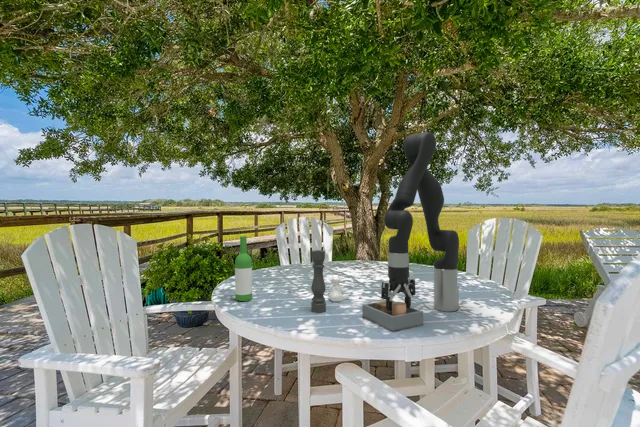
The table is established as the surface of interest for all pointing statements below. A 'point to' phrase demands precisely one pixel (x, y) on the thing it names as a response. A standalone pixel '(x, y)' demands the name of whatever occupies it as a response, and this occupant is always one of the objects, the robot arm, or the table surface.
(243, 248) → the wine bottle
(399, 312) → the tan cylinder
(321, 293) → the candle holder
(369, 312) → the grey tote
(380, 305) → the walnut cube
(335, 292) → the white creature statuette
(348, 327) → the table surface
